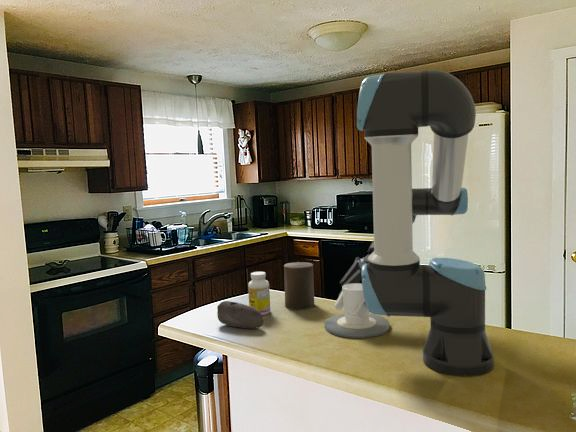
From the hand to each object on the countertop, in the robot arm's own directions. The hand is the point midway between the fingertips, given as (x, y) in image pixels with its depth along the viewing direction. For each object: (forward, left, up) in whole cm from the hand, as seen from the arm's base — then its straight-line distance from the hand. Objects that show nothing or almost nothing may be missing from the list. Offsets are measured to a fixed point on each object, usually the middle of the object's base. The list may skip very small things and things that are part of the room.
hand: (347, 311), depth 132 cm
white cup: (+3, -3, -4) cm, 5 cm away
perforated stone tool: (+2, +31, -5) cm, 31 cm away
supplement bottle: (+15, +28, -5) cm, 32 cm away
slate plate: (+2, -2, -5) cm, 6 cm away
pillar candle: (+23, +16, -5) cm, 29 cm away
